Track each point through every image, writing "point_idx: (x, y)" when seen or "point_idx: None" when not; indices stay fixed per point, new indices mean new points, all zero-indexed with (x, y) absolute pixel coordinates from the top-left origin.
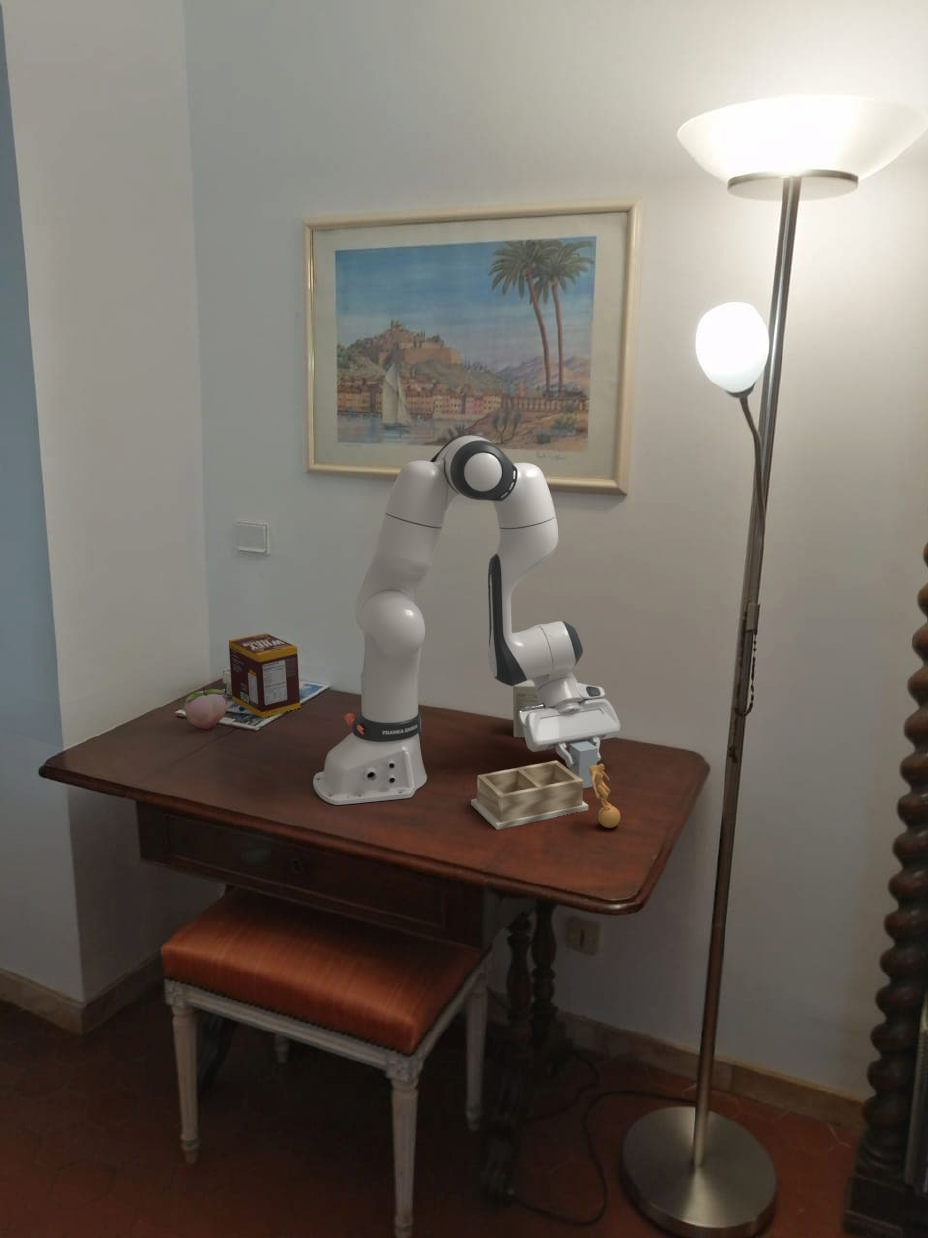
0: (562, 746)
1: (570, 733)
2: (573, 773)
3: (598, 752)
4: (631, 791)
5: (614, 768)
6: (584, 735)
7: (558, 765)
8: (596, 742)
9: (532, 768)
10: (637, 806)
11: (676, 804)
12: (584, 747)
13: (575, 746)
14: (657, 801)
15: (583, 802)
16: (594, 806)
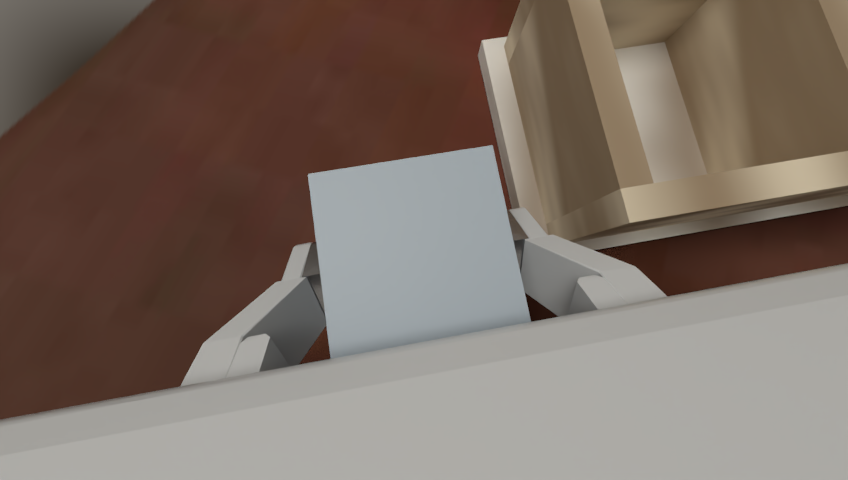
0: (621, 284)
1: (579, 382)
2: (574, 19)
3: (289, 267)
4: (252, 154)
5: None
6: (357, 367)
7: (637, 142)
8: (247, 340)
9: (801, 160)
10: (293, 41)
11: (148, 21)
12: (421, 216)
13: (495, 261)
14: (201, 57)
15: (491, 64)
16: (444, 77)
